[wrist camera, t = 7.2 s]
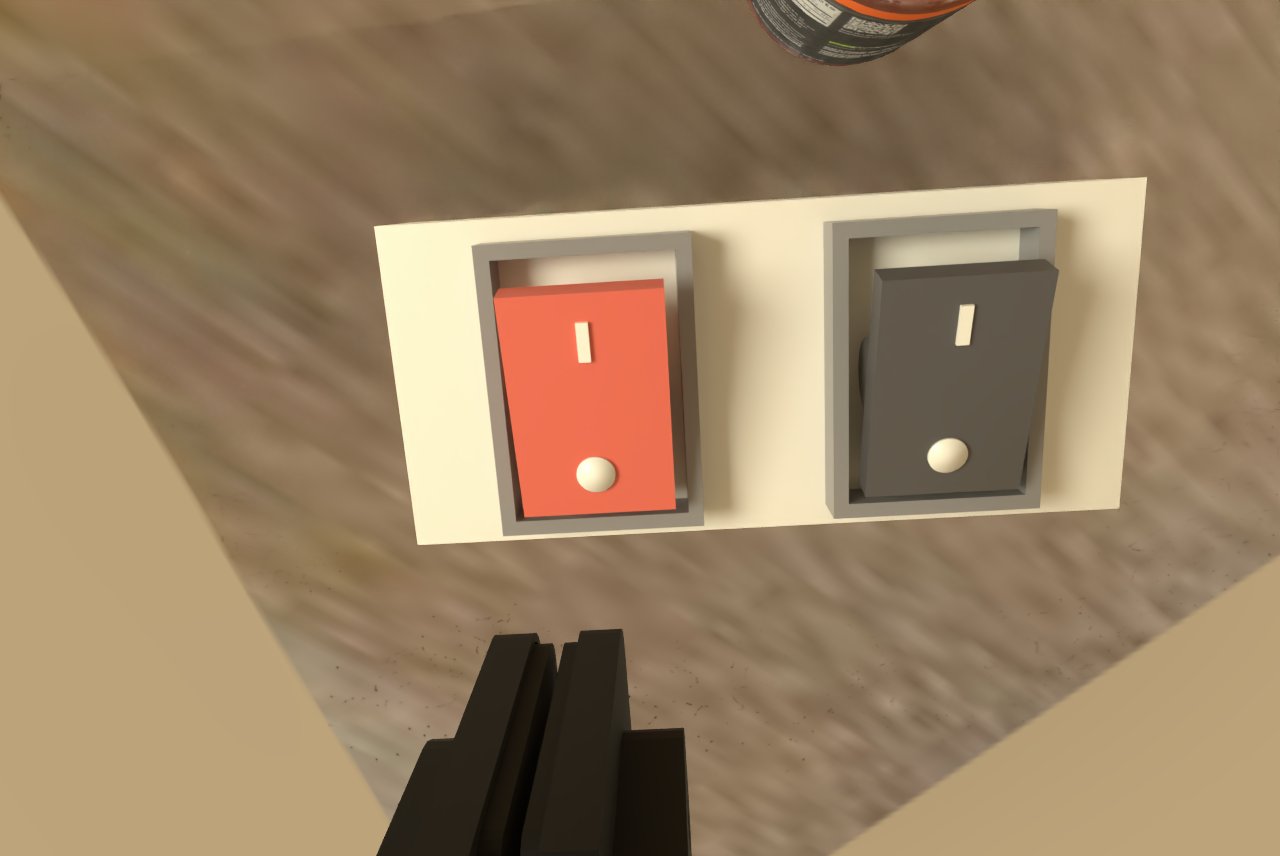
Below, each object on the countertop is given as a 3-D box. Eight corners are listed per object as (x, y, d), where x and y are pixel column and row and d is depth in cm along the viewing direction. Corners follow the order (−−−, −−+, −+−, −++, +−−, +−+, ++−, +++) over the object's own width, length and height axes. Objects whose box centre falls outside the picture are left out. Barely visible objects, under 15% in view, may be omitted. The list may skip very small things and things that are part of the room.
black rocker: (1024, 241, 22) (1061, 271, 20) (990, 447, 25) (1020, 491, 23) (862, 251, 22) (883, 282, 20) (848, 455, 25) (866, 499, 23)
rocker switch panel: (1073, 180, 26) (1173, 176, 21) (1055, 465, 28) (1142, 523, 23) (414, 222, 27) (359, 227, 22) (449, 498, 29) (406, 562, 24)
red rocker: (662, 264, 22) (664, 289, 20) (673, 470, 25) (675, 511, 23) (505, 273, 22) (492, 300, 20) (533, 478, 25) (524, 519, 23)
